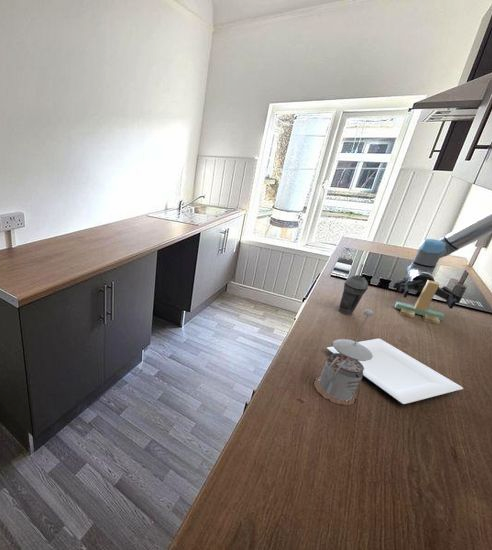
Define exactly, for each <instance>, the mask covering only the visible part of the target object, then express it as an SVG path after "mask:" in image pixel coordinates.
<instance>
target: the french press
mask: <svg viewBox="0 0 492 550" xmlns="http://www.w3.org/2000/svg"><path fill="white" fill-rule="evenodd" d="M362 314H363V315H364V316H365V319H364V321H363V323H362V326H361V328H360V330H359V332H358V335H357V337H356V339H355V341H354V340H352V339H343V338H342V339H340V338H339V339H335V340H333V342H332V345H333V346H334V348H335V349H336V350H337V351H338V352H339V353H334V354H333V353H331V354H330V355H329V357H328V358H327V359H326V361H325V364H324V365H323V366H324V367H323V370H322V371H321V374H320V376H319V378H320V379H318V380H319V386H320V387H321V389H322V390H323V391H325V392H326V393H327V394H329V395H330V396H332V397H334V398H338V399H340V400H346V401H348V400H350V399H352V397H353V395H354V394H355V393H356V391H357V389H358V386H360V381H362V379H363V377H364V376H363V370H364V367H363V365H362V364H361V363H360V362H359V361H367V360H371V359H372V357H373V355H372V353H371V352H370V351H369V350H368V349H367V348H366V347H364V346H363V345H361V344H359V343H358V342H359V341H358V339H359V337H360V335H361V332H362V331H363V328H364V326H365V323H366V322H367V319H368V317H373V316H374V315H375V314H374V311H373V310H372V309H364V310H363V312H362ZM333 346H332V347H333Z"/></svg>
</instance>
